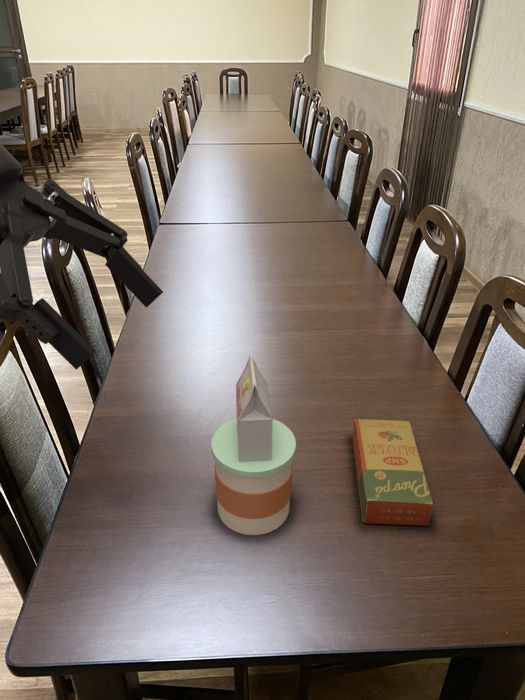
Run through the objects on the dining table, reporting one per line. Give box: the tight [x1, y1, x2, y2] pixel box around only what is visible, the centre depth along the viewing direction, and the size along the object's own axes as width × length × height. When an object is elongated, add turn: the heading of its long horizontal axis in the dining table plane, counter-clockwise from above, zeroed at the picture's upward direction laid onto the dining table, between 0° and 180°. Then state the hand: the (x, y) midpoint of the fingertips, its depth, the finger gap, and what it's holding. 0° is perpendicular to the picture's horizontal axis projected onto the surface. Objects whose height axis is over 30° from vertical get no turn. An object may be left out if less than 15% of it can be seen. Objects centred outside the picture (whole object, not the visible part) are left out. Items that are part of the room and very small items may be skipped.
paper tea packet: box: [235, 354, 274, 462], centre depth 61 cm, size 4×7×10 cm, turn 4°
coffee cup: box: [210, 417, 297, 536], centre depth 66 cm, size 10×10×11 cm
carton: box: [352, 418, 434, 527], centre depth 72 cm, size 8×16×4 cm, turn 177°
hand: (124, 327), depth 54 cm, fingers open, 13 cm apart
